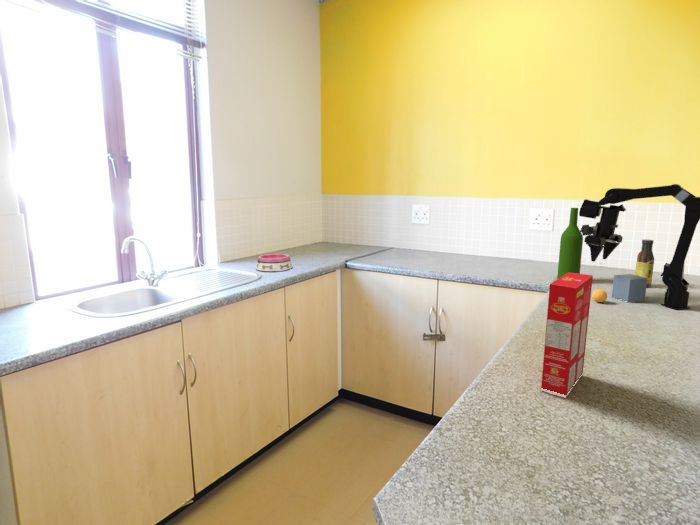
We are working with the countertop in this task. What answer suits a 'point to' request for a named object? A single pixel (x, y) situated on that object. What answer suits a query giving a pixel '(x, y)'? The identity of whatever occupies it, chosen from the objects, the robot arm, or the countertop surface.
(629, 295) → the grey-blue cube
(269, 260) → the dog bowl
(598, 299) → the ball
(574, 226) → the wine bottle
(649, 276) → the sauce bottle
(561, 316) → the food packaging
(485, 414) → the countertop surface
